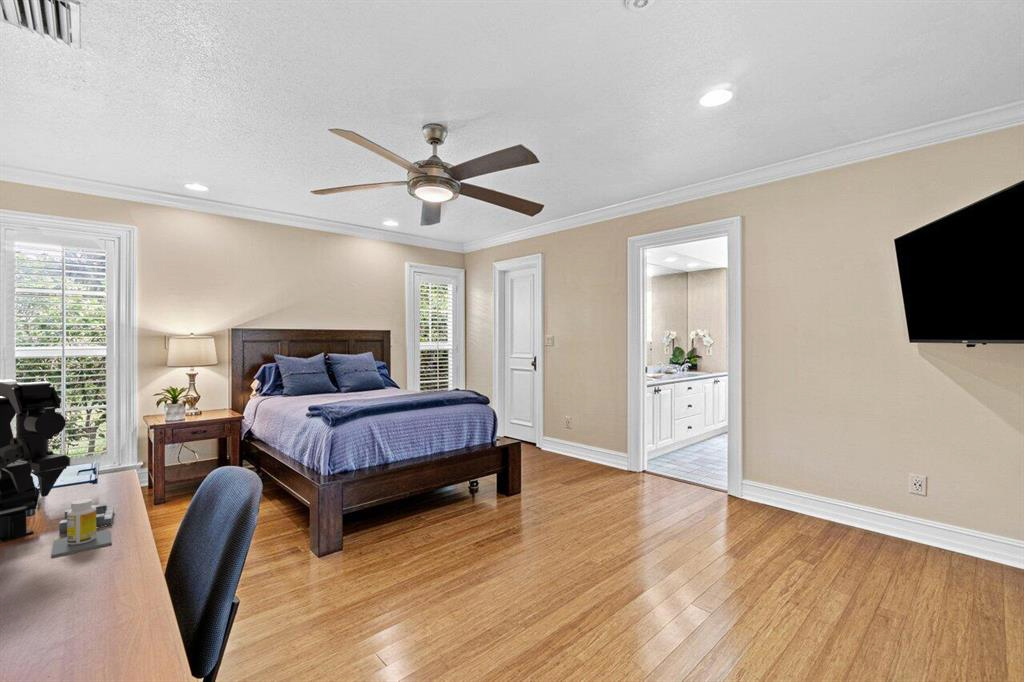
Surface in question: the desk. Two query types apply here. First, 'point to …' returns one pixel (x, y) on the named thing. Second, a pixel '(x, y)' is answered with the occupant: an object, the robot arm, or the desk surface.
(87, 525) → the supplement bottle
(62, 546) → the slate pad
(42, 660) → the desk surface
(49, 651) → the desk surface
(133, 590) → the desk surface
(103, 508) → the vise
